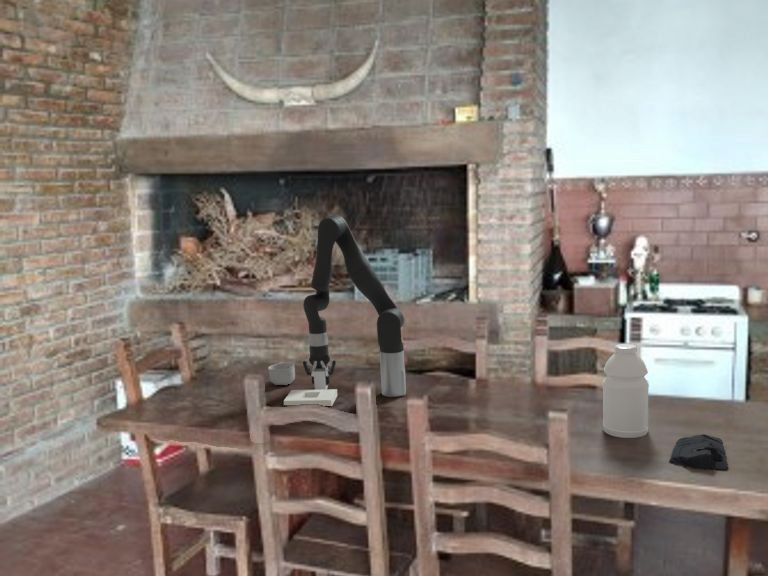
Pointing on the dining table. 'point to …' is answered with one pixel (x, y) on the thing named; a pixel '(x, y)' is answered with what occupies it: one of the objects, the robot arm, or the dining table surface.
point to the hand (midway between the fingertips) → (321, 384)
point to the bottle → (625, 394)
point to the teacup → (282, 373)
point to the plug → (320, 379)
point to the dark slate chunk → (699, 453)
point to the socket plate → (311, 397)
